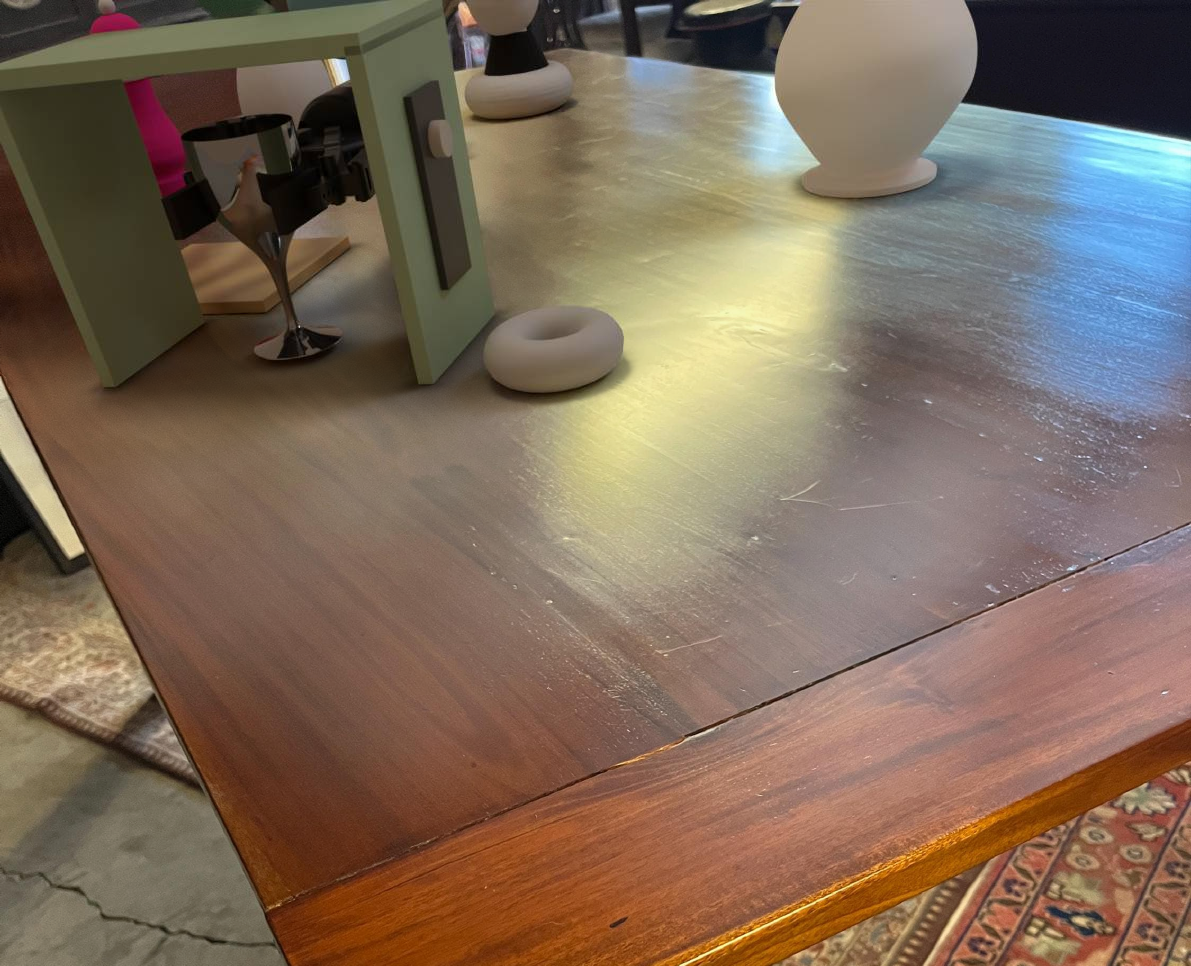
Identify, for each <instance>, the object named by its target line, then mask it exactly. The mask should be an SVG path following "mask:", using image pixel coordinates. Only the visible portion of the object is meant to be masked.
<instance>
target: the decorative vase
mask: <svg viewBox="0 0 1191 966" xmlns="http://www.w3.org/2000/svg"><path fill="white" fill-rule="evenodd" d="M977 63H978V39H977V31H976V26H975V23H974V20H973V17H972V14H971V12H970V10H969V7H968V6H967V4H966V1H965V0H802V1H801V2H800V4H799V6H798V7H797V9H796V11H795V12H794V14H793V16H792V18H791V20H790V22H789V24H788V26H787V27H786V30H785V32H784V34H783V37H782V39H781V42H780V44H779V47H778V52H777V55H776V60H775V66H774V67H775V68H774V91H775V97H776V100H777V102H778V105H779V107H780V109H781V111H782V113H783V115H784V116H785V118H786V120H787V122H788V123H789V124H790V126H791V128H792V129H793V130H794V132H795V133H796V135H797V136H798V137H799V139H800V140H801V142H803V144H804V145H805V147H806V148H807V149H808V150H809V152H810V153H811V154H812V156H813V157H814V159H815V160H816V161H817V162H818V163H819V164H818V165H816V166H813V167H811V168H810V169H808V170H806V172H804V173H803V175H802V177H801V179H802V181H801V182H802V184H801V185H802V188H803V189H804V190H805V191H807V192H809V193H812V194H815V195H818V196H823V197H830V198H843V199H844V198H845V199H847V198H849V199H854V198H855V199H857V198H859V199H860V198H874V197H875V198H876V197H882V196H883V197H884V196H891V195H895V194H900V193H905V192H908V191H912V190H915V189H918V188H921V187H924V186H925V185H928V184H929V183H932V182H933V180H934V179H936V177H937V173H938V172H937V171H938V166H937V164H936V163H935V162H934V161H932V160H931V159H928V158H924V157H921V155H922V154H923V153H924V152H925V150H926V149H927V148H928V147H929V146H930V144H931V143H932V142H933V140H935V138H936V137H937V135H938V134H939V133H940V132H941V130H942V129H943V128H944V126H945V125H946V123H947V122H948V121H949V120H950V118H951V117H952V116H953V114H954V113H955V111H956V110H957V108H958V107H959V105H960V104H961V102H962V101H963V100H964V98H965V96H966V94H967V93H968V91H969V89H970V87H971V85H972V84H973V83H972V82H973V80H974V77H975V73H976V69H977Z"/></svg>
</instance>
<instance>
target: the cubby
mask: <svg viewBox="0 0 1191 966" xmlns="http://www.w3.org/2000/svg"><path fill="white" fill-rule="evenodd" d="M443 5H444V4H443V0H389V1H381V2H372V3H363V4H354V5H345V6H336V7H327V8H318V9H309V10H300V11H291V12H282V13H280V12H274V13H265V14H257V15H247V16H239V17H230V18H220V19H213V20H211V19H210V20H202V21H195V22H194V21H193V22H186V23H175V24H168V25H158V26H157V25H156V26H149V27H148V26H147V27H140V28H139V29H130V30H121V31H113V32H104V33H95V34H90V33H89V34H88V35H85V36H84V35H83V36H82V37H77V38H75V39H72V40H68V41H66V42H63V43H59V44H55V45H53V46H50V47H47V48H44V49H41V50H37V51H35V52H31V53H28V54H24V55H22V56H19V57H15V58H12V59H9V60H5V61H1V62H0V145H1V147H2V150H3V151H4V154H5V157H6V158H7V161H8V163H9V164H8V165H9V166H10V168H11V170H12V173H13V175H14V178H15V180H16V183H17V185H18V187H19V190H20V192H21V195H22V197H23V199H24V202H25V204H26V206H27V209H28V211H29V214H30V216H31V219H32V221H33V223H34V225H35V228H36V230H37V233H38V235H39V237H40V240H41V242H42V244H43V247H44V250H45V252H46V254H47V256H48V259H49V261H50V263H51V266H52V268H53V271H54V273H55V276H56V278H57V280H58V282H59V285H60V288H61V289H62V292H63V295H64V297H65V299H66V302H67V304H68V306H69V309H70V312H71V314H72V316H73V319H74V321H75V324H76V325H77V328H78V331H79V332H80V335H81V337H82V339H83V343H84V345H85V347H86V349H87V352H88V355H89V357H90V359H91V361H92V364H93V366H94V368H95V372H96V373H97V376H98V379H99V380H100V383H101V385H102V387H103V388H118V386H119V385H121V384H122V383H124V382H125V381H126V380H128V379H129V378H131V377H132V376H133V375H135V374H136V373H138V372H139V371H141V369H143V368H144V367H146V366H147V365H149V364H150V363H151V362H152V361H154V360H155V359H157V358H159V356H161V355H162V354H163V353H165V352H166V351H168V350H169V349H170V348H172V347H173V346H175V345H176V344H177V343H179V342H180V341H182V340H183V339H184V338H186V337H187V336H189V335H190V334H191V333H192V332H194V331H195V330H197V329H198V328H199V327H201V326H202V325H203V324H205V323H206V320H205V317H204V314H202V311H201V308H200V305H199V302H198V299H197V297H196V294H195V291H194V288H193V285H192V282H191V279H190V276H189V273H188V270H187V267H186V264H185V262H184V259H183V256H182V253H181V250H182V249H181V247H180V245H179V242H178V241H179V240H175V239H174V236H173V233H172V230H171V227H170V224H169V221H168V218H167V215H166V212H165V209H164V207H163V204H162V201H161V199H162V198H163V197H162V194H161V192H160V189H159V186H158V183H157V180H156V177H155V174H154V171H153V168H152V165H151V162H150V160H149V157H148V154H147V151H146V148H145V145H144V142H143V139H142V136H141V133H140V130H139V127H138V125H137V122H136V119H135V116H134V113H133V110H132V107H131V104H130V101H129V98H128V95H127V92H126V90H125V87H124V84H123V81H122V79H131V78H141V77H150V78H152V77H161V76H170V75H180V74H190V73H200V72H212V71H222V70H232V69H237V68H243V67H253V66H263V65H274V64H284V63H294V62H304V61H314V60H322V61H324V60H336V59H335V58H345V59H346V60H345V63H346V67H347V72H348V76H349V80H350V81H351V86H352V90H353V95H354V99H355V104H356V108H357V112H358V117H359V121H360V126H361V130H362V135H363V139H364V144H365V148H366V152H367V157H368V161H369V166H370V170H371V175H372V179H373V184H374V188H375V193H376V194H375V197H376V201H377V207H378V210H379V214H380V219H381V224H382V227H383V233H384V237H385V241H386V246H387V250H388V255H389V258H390V263H391V268H392V272H393V277H394V281H395V286H396V291H397V294H398V299H399V304H400V308H401V312H402V313H401V314H402V317H403V321H404V326H405V330H406V334H407V335H406V336H407V339H408V344H409V348H410V352H411V357H412V361H413V366H414V370H415V374H416V379H417V384H418V385H434V384H435V383H436V382H437V381H438V380H439V378H441V376H442V375H443V374H444V373H445V372H446V370H448V369H449V367H450V366H452V364H453V363H454V361H455V360H456V359H457V358H458V357H459V356H460V355H461V354H462V352H463V351H464V350H465V349H466V348H467V347H468V345H470V343H472V341H474V339H475V338H476V337H477V336H478V334H479V333H480V332H481V331H482V330H483V329H484V327H486V326H487V324H488V323H489V322H490V321H491V320H492V319H493V317H494V316H495V315H496V310H495V304H494V299H493V292H492V287H491V282H490V281H491V280H490V275H489V270H488V264H487V258H486V253H485V252H486V251H485V245H484V240H483V233H482V227H481V223H480V222H481V221H480V217H479V211H478V204H477V199H476V193H475V187H474V182H473V181H474V180H473V176H472V169H471V163H470V158H469V152H468V147H467V141H466V135H465V127H464V123H463V122H464V121H463V117H462V111H461V104H460V99H459V94H458V88H457V82H456V76H455V75H456V74H455V69H454V63H453V58H452V57H453V56H452V52H451V46H450V41H449V34H448V27H447V22H446V17H445V11H444V6H443Z"/></svg>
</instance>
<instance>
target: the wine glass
mask: <svg viewBox="0 0 1191 966" xmlns="http://www.w3.org/2000/svg"><path fill="white" fill-rule="evenodd" d="M181 141H182V145H183V148H184V151H185V154H186V157H187V159H186V161H187V163H188V165H189V170H191V171H192V174H193V177H194V180H195V182H196V184H197V186H198V188H199V190H200V193H201V195H202V197H203V199H204V201H205V202H206V204H207V206H208V208H209V210H210V211H211V213H212V215H213V216H214V218H215V219H216V220H217V222H216V223H218V225H220V226H221V227H222V228H223V229H224V230H225V231H226V232H227V233H228V234H229V235H231V236H232V237H234V238H235V239H236V240H237V241H238V242H241V243H243V244H244V245H245V246H246V247H248V248H249V249H250V250H252V251H253V252H254V253H255V254H256V255H257V256H258V257H259V258H260V259H261V261H262V262H263V263H264V264H265V266H266V267H267V269H268V270H269V272H270V274H271V276H272V279H273V281H274V283H275V286H276V288H277V291H278V293H279V296H280V298H281V301H280V302H281V304H282V307H283V311H284V314H285V318H286V322H287V327H286V329H284V330H282V331H279V332H275V333H273V334H271V335H269V336H267V337H265V338H263V339H261V340H260V341H259V342H258V343H256V345H255V346H254V349H253V351H254V355H256V357H259V358H261V359H266V360H273V361H282V360H284V361H285V360H292V359H293V360H294V359H299V358H303V357H308V356H312V355H315V354H318V353H321V352H323V351H325V350H328V349H329V348H331V347H334V346H335V345H337V344H338V343H339V342H341V340H342V338H343V336H344V333H343V331H342V330H341V329H340V328H338V327H337V326H332V325H326V324H312V325H310V324H309V325H303V324H301V323H300V321H299V319H298V316H297V313H296V311H295V306H294V303H293V300H292V295H291V294H292V293H290V289H289V283H288V277H287V268H286V262H287V254H288V250H289V246H290V243H291V240H292V239H294V236H295V233H296V231H297V230H295V231H294V232H292V233H291V234H289V235H280V236H279V233H278V230H277V226H276V223H275V219H274V216H273V212H272V208H271V205H270V201H269V198H268V194H267V193H268V192H270V191H271V190H273V189H275V188H276V187H278V186H280V185H281V184H283V183H284V182H286V181H288V180H289V179H291V178H293V177H294V176H296V175H298V174H299V173H301V172H303V171H304V167H303V159H302V155H301V150H300V145H299V141H298V137H297V133H296V129H295V125H294V122H293V118H292V116H290V115H287V114H258V115H250V116H243V115H242V116H237V117H233V118H227V119H222V120H218V121H214V122H210V123H206V124H204V125H200V126H197V127H195V128H192V129H189V130H187V131H185V132H184V133H183V134H182V135H181Z"/></svg>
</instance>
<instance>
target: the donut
mask: <svg viewBox="0 0 1191 966" xmlns="http://www.w3.org/2000/svg"><path fill="white" fill-rule="evenodd" d="M624 335H625V334H624V332H623V329H622V328H621V326H620V324H619V323H618V322H617V321H616V319H615V318H614V317H613V316H611V315H610V314H609V313H608V312H605V311H603V310H601V309H597V308H593V307H591V306H583V305H557V306H555V305H554V306H548V307H547V306H546V307H542V308H537V309H533V310H529V311H526V312H522V313H519V314H516V315H514V316H513V317H511V318H508V319H506V320H505V321H503V322H501V323H500V324H498V326H496V327H495V328H494V329H493V330H492V331H491V332H490V334H489V335H488V336H487V339H486V342H485V345H484V349H483V352H482V355H483V362H484V365H485V367H486V369H487V371H488V372H489V375H490V376H491V377H492V378H493V380H495V381H496V382H497V383H499V384H501V385H503V386H505V387H506V388H508V389H510V390H515V391H520V392H524V393H538V394H541V393H542V394H545V393H546V394H547V393H557V392H564V391H568V390H569V391H570V390H574V389H577V388H581V387H583V386H586V385H589V384H591V383H594V382H596V381H599V380H600V379H601V378H603V377H604V376H606V375H608V374H609V373H610V372H611V371H612V370H613V369H614V368H615V367H616V365H618V363H619V362H620V361H621V359H622V356H623V353H624V344H625V336H624Z"/></svg>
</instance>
